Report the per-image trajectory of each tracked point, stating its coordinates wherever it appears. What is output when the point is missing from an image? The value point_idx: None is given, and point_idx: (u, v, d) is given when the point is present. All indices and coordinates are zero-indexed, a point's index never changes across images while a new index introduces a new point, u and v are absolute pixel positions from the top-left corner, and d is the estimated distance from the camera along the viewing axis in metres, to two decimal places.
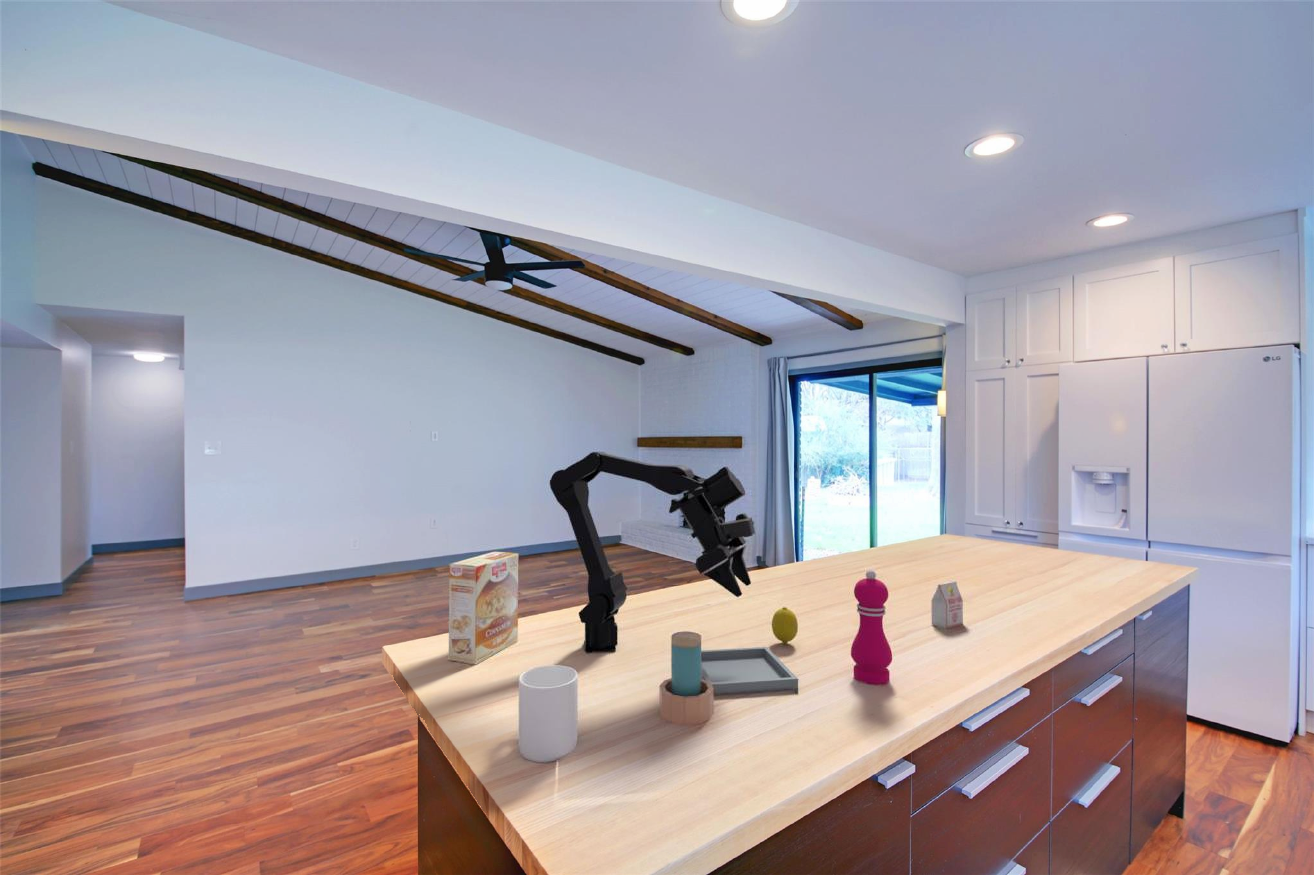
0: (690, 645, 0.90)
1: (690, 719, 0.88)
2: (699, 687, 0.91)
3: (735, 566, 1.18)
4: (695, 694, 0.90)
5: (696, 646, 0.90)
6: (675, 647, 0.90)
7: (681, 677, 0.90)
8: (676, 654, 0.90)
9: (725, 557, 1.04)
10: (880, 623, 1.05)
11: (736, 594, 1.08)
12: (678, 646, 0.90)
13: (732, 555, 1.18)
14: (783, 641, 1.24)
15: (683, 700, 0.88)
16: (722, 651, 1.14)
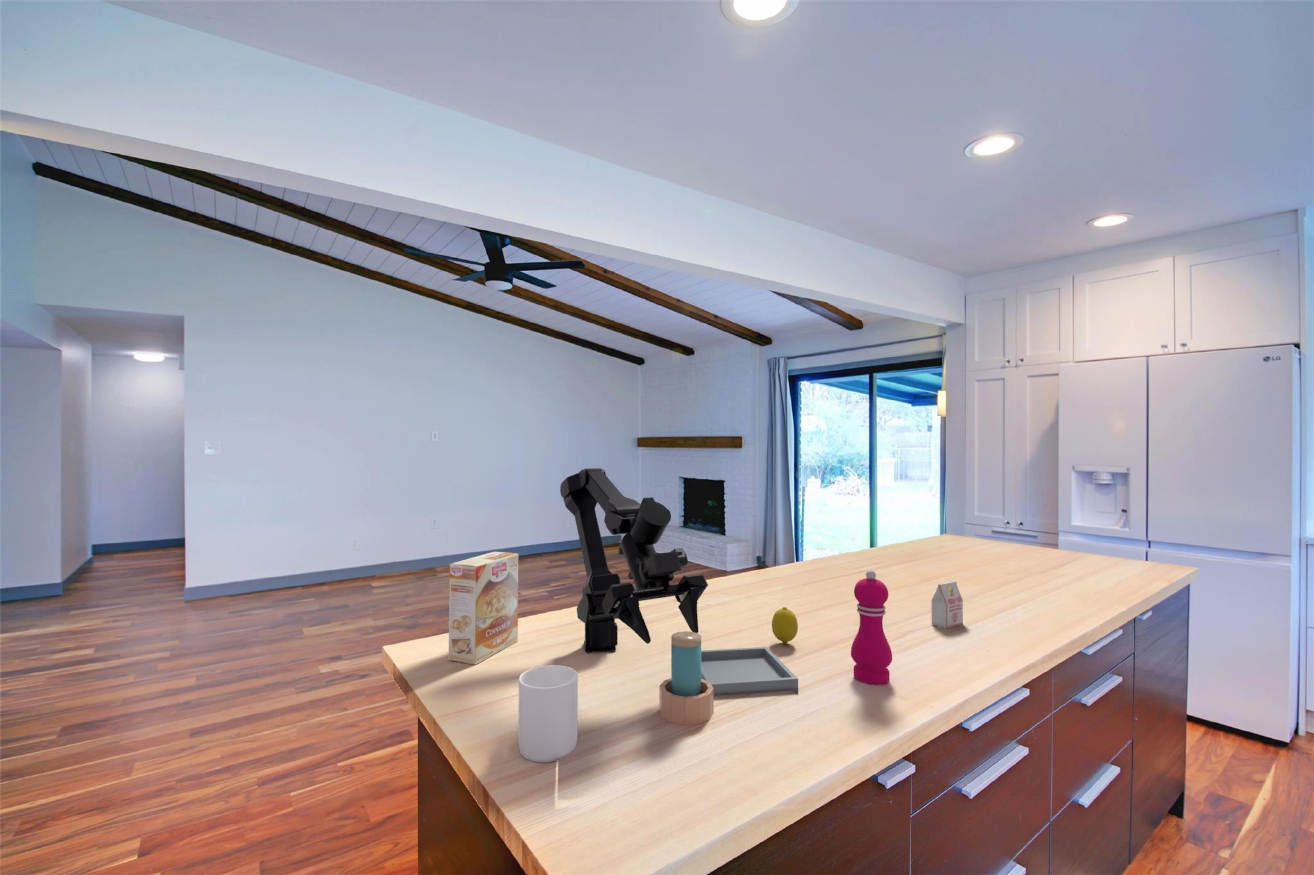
0: (690, 645, 0.90)
1: (690, 719, 0.88)
2: (699, 687, 0.91)
3: (687, 611, 1.01)
4: (695, 694, 0.90)
5: (696, 646, 0.90)
6: (675, 647, 0.90)
7: (681, 677, 0.90)
8: (676, 654, 0.90)
9: (615, 595, 0.94)
10: (880, 623, 1.05)
11: (645, 640, 0.94)
12: (678, 646, 0.90)
13: (684, 599, 1.02)
14: (783, 641, 1.24)
15: (683, 700, 0.88)
16: (722, 651, 1.14)
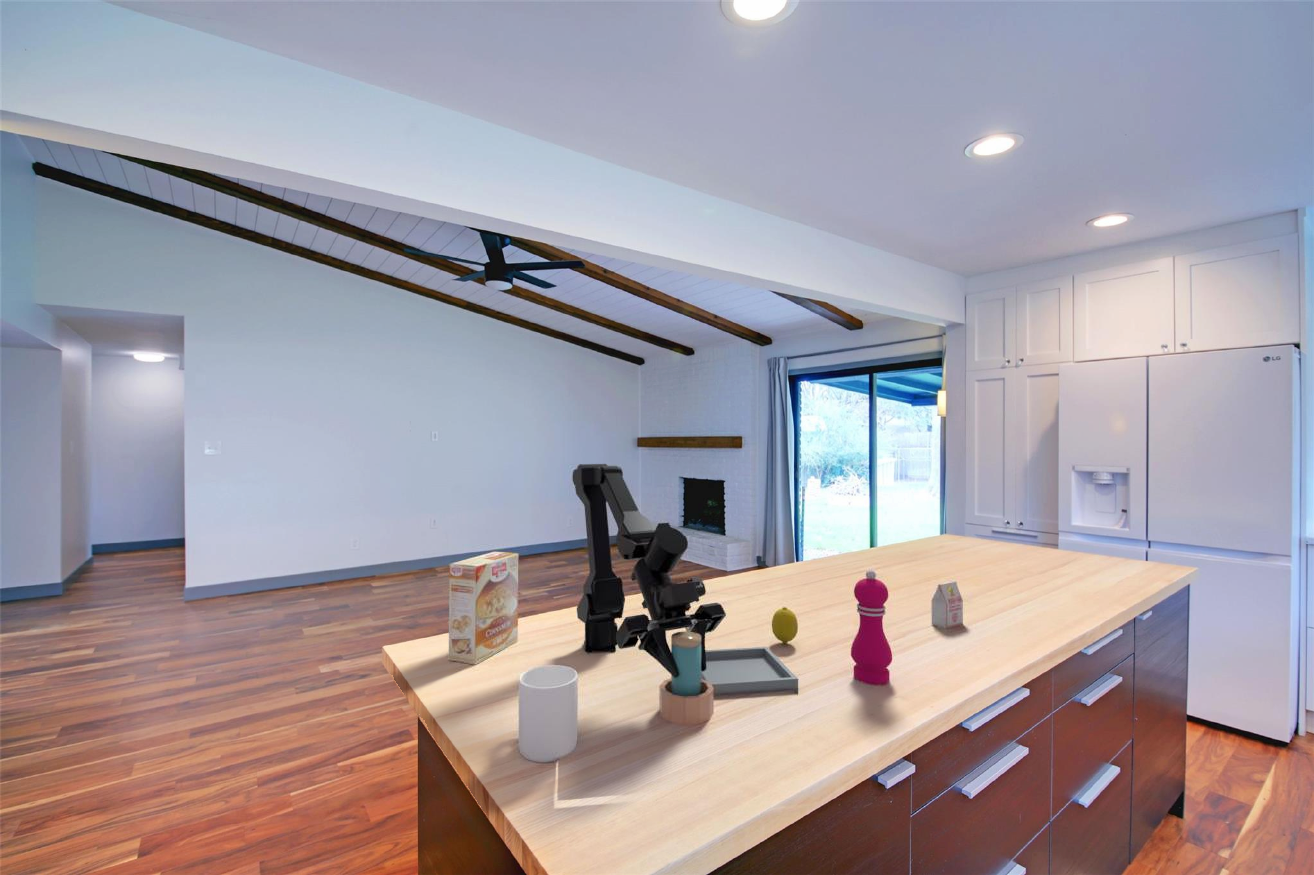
0: (690, 645, 0.90)
1: (690, 719, 0.88)
2: (699, 687, 0.91)
3: None
4: (695, 694, 0.90)
5: (696, 646, 0.90)
6: (675, 647, 0.90)
7: (681, 677, 0.90)
8: (676, 654, 0.90)
9: (630, 629, 0.89)
10: (880, 623, 1.05)
11: (672, 674, 0.90)
12: (678, 646, 0.90)
13: (691, 631, 0.96)
14: (783, 641, 1.24)
15: (683, 700, 0.88)
16: (722, 651, 1.14)
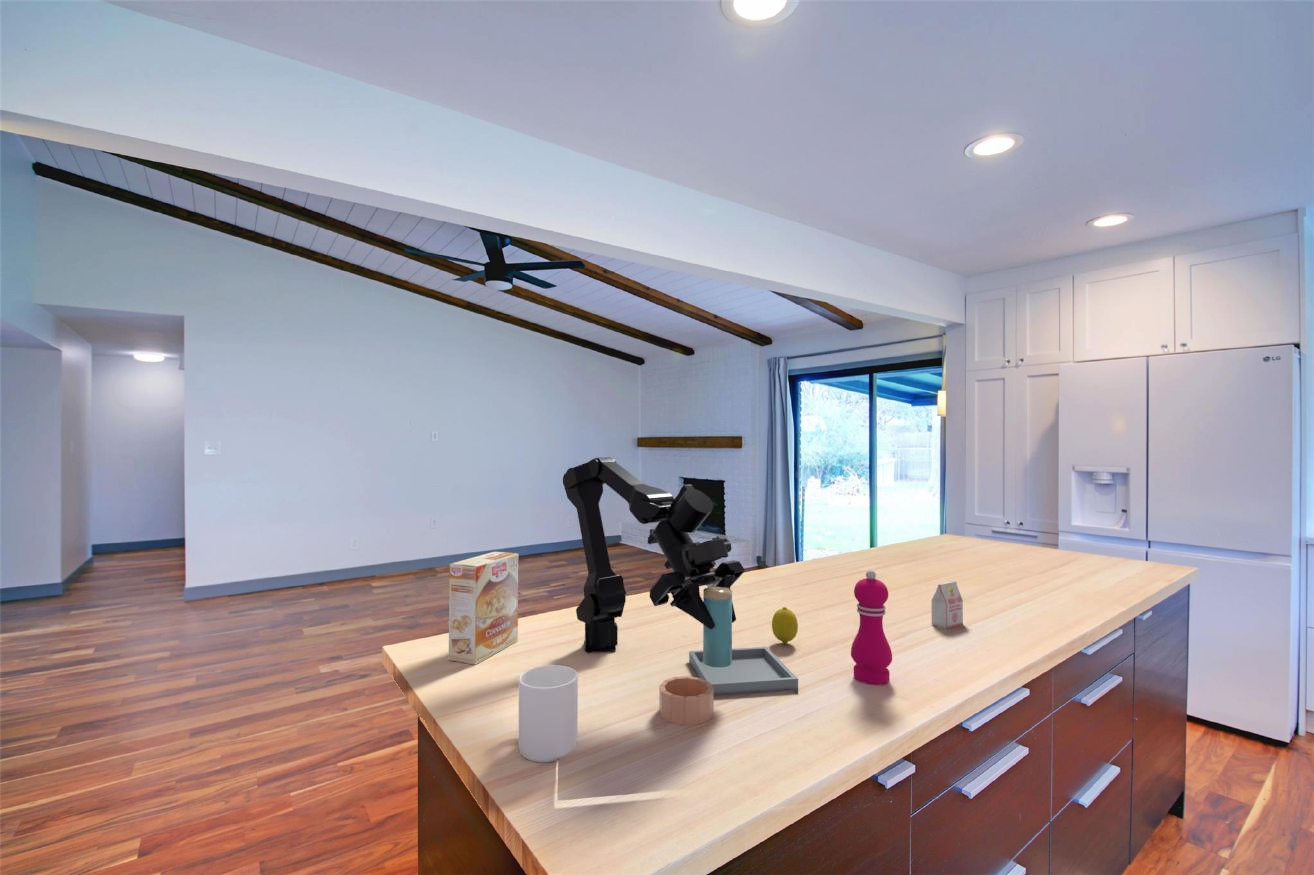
0: (725, 597, 0.94)
1: (690, 719, 0.88)
2: (731, 637, 0.95)
3: None
4: (728, 644, 0.95)
5: (729, 598, 0.95)
6: (710, 600, 0.94)
7: (716, 628, 0.94)
8: (711, 606, 0.94)
9: (669, 584, 0.92)
10: (880, 623, 1.05)
11: (708, 626, 0.94)
12: (713, 599, 0.94)
13: None
14: (783, 641, 1.24)
15: (683, 700, 0.88)
16: None
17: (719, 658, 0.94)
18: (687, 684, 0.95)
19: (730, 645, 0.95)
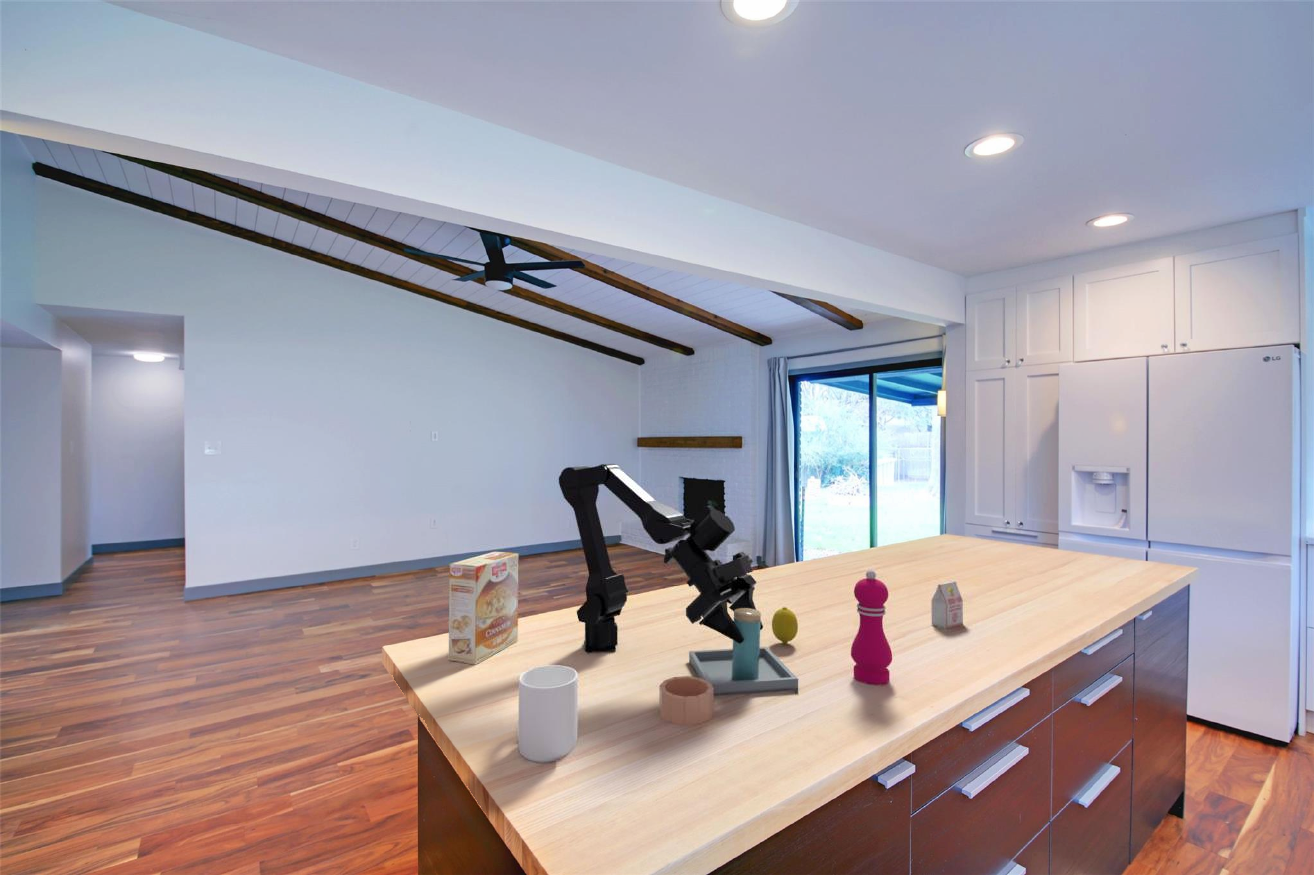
0: (757, 619, 1.01)
1: (690, 719, 0.88)
2: None
3: None
4: (758, 661, 1.02)
5: (760, 619, 1.02)
6: (744, 623, 1.01)
7: (749, 649, 1.01)
8: (745, 629, 1.01)
9: (711, 603, 0.97)
10: (880, 623, 1.05)
11: (738, 640, 1.00)
12: (747, 622, 1.01)
13: (739, 599, 1.09)
14: (783, 641, 1.24)
15: (683, 700, 0.88)
16: (722, 651, 1.14)
17: (751, 675, 1.01)
18: (687, 684, 0.95)
19: (758, 662, 1.03)
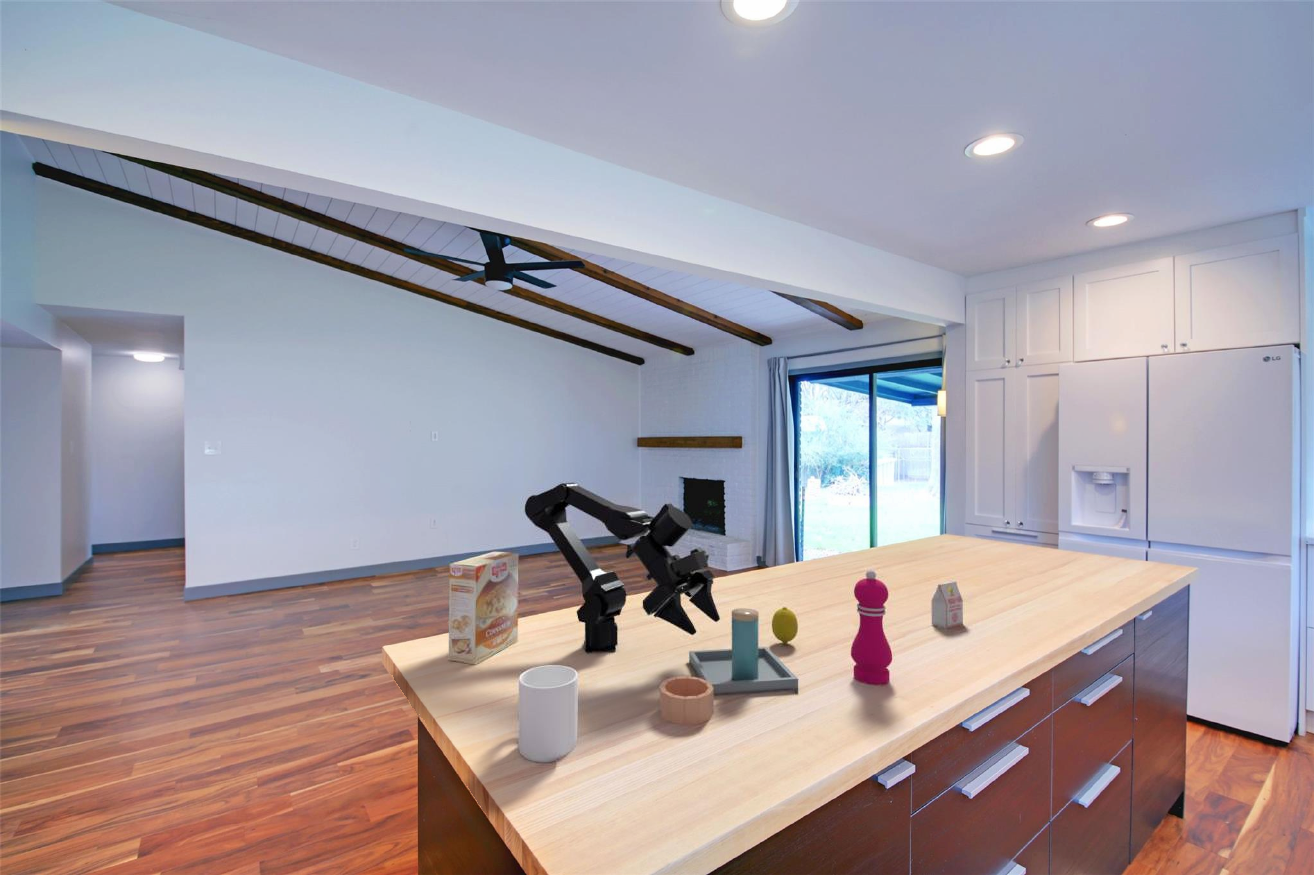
0: (755, 618, 1.02)
1: (690, 719, 0.88)
2: None
3: (703, 603, 1.14)
4: (757, 661, 1.03)
5: (757, 619, 1.03)
6: (742, 622, 1.02)
7: (748, 648, 1.01)
8: (743, 628, 1.01)
9: (665, 595, 1.02)
10: (880, 623, 1.05)
11: (690, 632, 1.04)
12: (745, 621, 1.01)
13: (698, 592, 1.15)
14: (783, 641, 1.24)
15: (683, 700, 0.88)
16: (722, 651, 1.14)
17: (751, 675, 1.01)
18: (687, 684, 0.95)
19: (757, 662, 1.03)
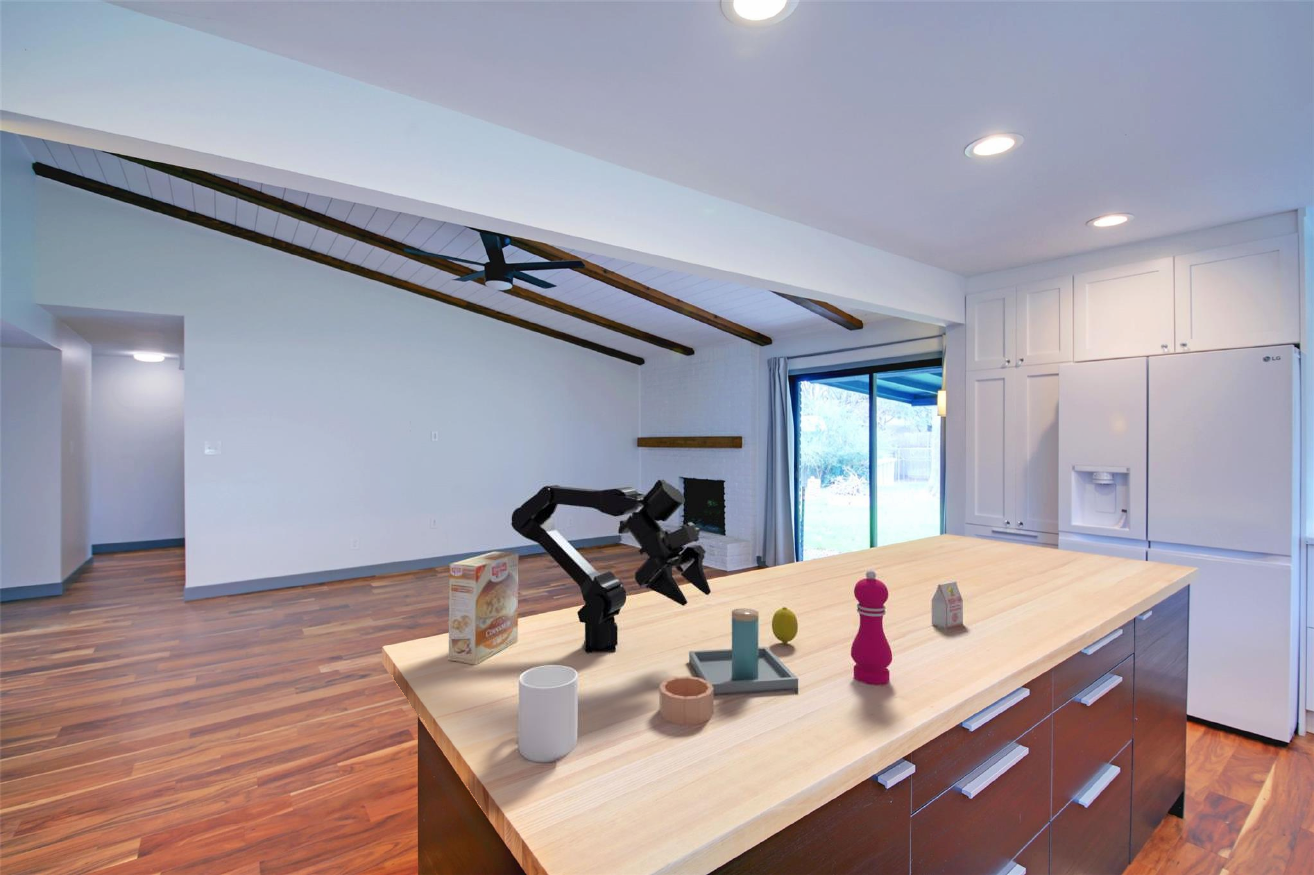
0: (755, 618, 1.02)
1: (690, 719, 0.88)
2: (758, 654, 1.03)
3: (694, 577, 1.17)
4: (757, 661, 1.03)
5: None
6: (742, 622, 1.02)
7: (748, 648, 1.01)
8: (743, 628, 1.01)
9: (657, 566, 1.05)
10: (880, 623, 1.05)
11: (681, 603, 1.07)
12: (745, 621, 1.01)
13: (690, 566, 1.18)
14: (783, 641, 1.24)
15: (683, 700, 0.88)
16: (722, 651, 1.14)
17: (751, 675, 1.01)
18: (687, 684, 0.95)
19: (758, 662, 1.03)
